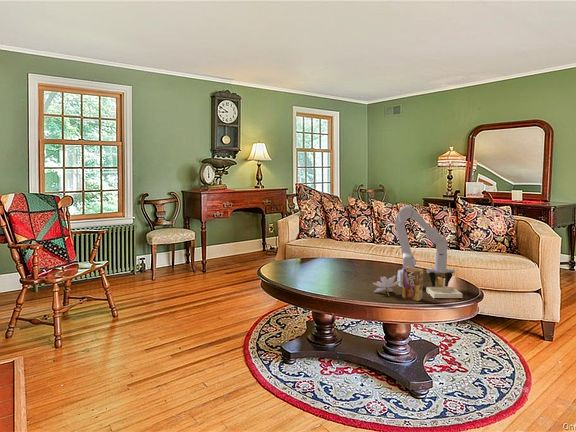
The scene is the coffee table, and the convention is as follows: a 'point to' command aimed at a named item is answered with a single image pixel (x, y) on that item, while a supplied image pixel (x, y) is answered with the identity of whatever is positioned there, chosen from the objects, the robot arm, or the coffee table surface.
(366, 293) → the coffee table surface
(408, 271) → the candy box
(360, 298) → the coffee table surface
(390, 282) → the water lily
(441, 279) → the peg
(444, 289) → the bore box
